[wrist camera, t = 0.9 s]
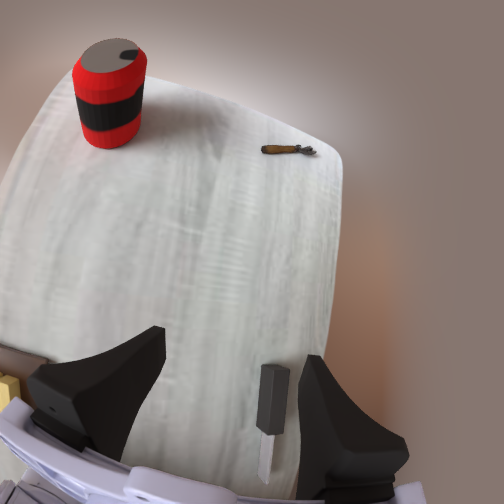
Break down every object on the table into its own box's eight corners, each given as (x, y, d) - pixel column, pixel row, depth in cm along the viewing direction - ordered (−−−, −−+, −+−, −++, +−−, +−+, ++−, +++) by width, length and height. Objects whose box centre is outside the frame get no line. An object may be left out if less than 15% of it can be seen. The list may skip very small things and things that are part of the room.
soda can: (135, 151, 29) (139, 80, 18) (77, 150, 26) (59, 82, 15) (144, 104, 30) (155, 34, 19) (91, 103, 28) (86, 34, 17)
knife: (261, 364, 30) (273, 370, 27) (276, 364, 31) (290, 369, 28) (251, 475, 26) (261, 487, 23) (265, 473, 27) (276, 485, 24)
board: (57, 452, 18) (55, 455, 17) (-9, 428, 15) (-12, 430, 14) (48, 358, 21) (45, 360, 20) (-19, 337, 18) (-23, 337, 17)
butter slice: (25, 426, 17) (16, 436, 14) (12, 421, 16) (3, 430, 14) (19, 378, 18) (8, 385, 16) (6, 374, 18) (-5, 380, 15)
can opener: (263, 155, 35) (264, 147, 34) (257, 147, 36) (258, 140, 36) (319, 156, 38) (321, 150, 37) (311, 149, 40) (313, 143, 39)
